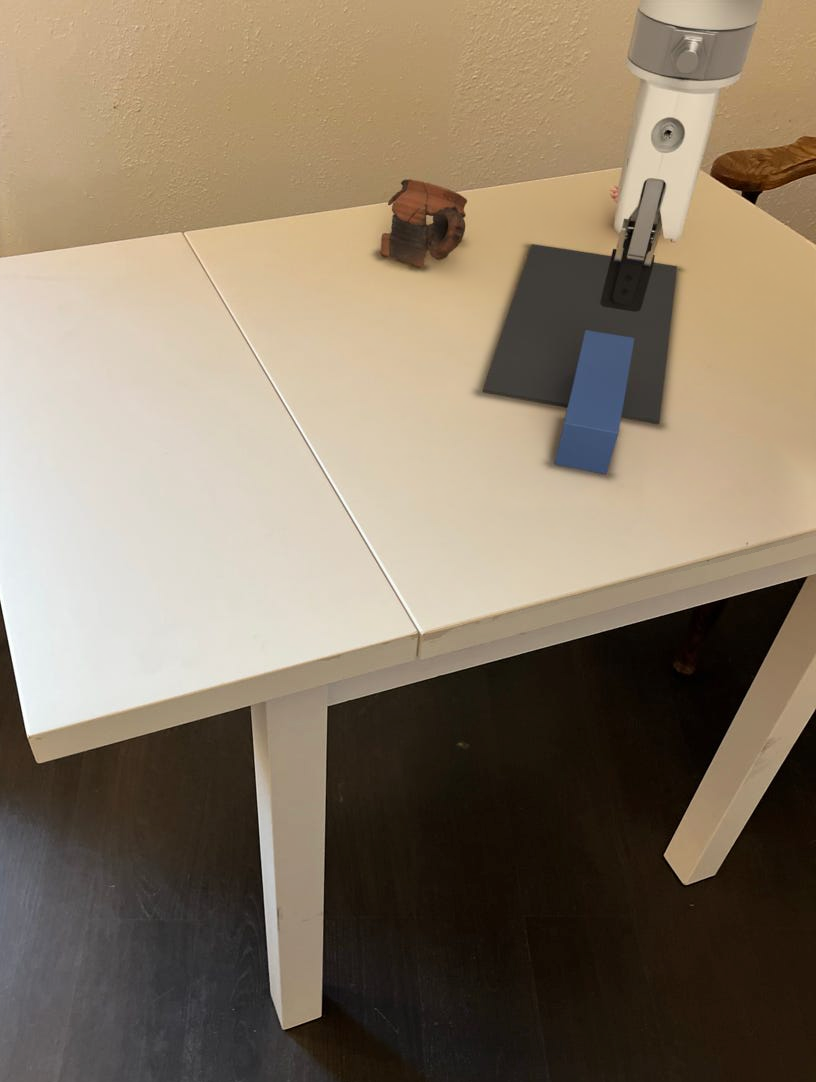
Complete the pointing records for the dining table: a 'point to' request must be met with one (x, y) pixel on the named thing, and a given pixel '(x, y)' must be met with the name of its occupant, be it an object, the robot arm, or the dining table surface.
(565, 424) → the blue post
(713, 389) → the dining table surface
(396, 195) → the brown broken pot
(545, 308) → the rubber mat
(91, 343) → the dining table surface
